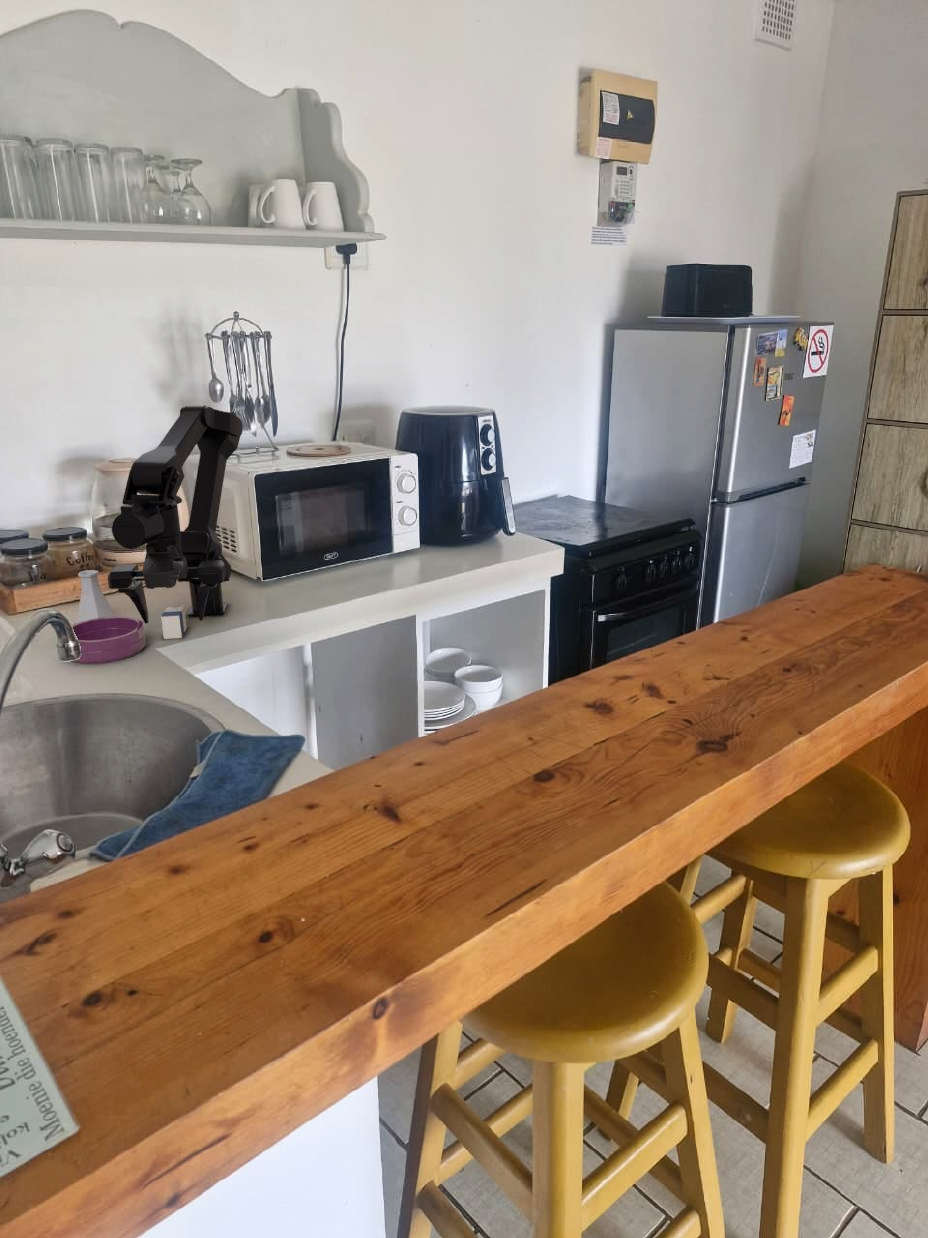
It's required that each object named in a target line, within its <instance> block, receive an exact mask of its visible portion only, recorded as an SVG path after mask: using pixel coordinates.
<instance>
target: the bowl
mask: <svg viewBox="0 0 928 1238" xmlns="http://www.w3.org/2000/svg"><path fill="white" fill-rule="evenodd" d="M72 626H73V629H74V632H75V634H76V636H77V638H78V641H79V643H80V646H81V654H82V655H81V657H80V659H78V660H75V661H73V662H74V663H78V664H84V665H86V664H87V665H99V664H107V663H114V662H119V661H122V660H125V659H128V658H131V657H133V656H135V655H137V654H139V653H140V652H141V651H142V650H143V648H144V647H146V645H147V639H146V632H145V631H146V630H145V622H144V621H143V620H141V619H140V618H136V617H132V616H121V615H116V616H114V617H102V618H96V619H90V620H86V621H82V622H79V623H76V624H75V623H73V624H72Z"/></svg>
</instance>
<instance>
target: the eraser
mask: <svg viewBox="0 0 928 1238" xmlns="http://www.w3.org/2000/svg"><path fill="white" fill-rule="evenodd" d="M160 619H161V628H162V635H163V639H164V640H171V639H173V640H174V639H182V638H183V637H184V635H185V633H186V630H187V629H188V628H187V627H188V626H187V619H186V611H185V606H170V607H166V608H165V610H164V611H163V613H162V614H161V615H160Z"/></svg>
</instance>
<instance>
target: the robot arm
mask: <svg viewBox="0 0 928 1238" xmlns="http://www.w3.org/2000/svg"><path fill="white" fill-rule="evenodd" d="M243 429H244V428H243V421H242V418H240V417H238V415H237V414H236V413H235V412H234V411H223V410H220V409H214V408H213V407H212V406H208V405H206V404H202V405H201V404H187V405H185V406H182V407H181V408H180V410H179V415H178V417H177V419H176V420H175V421H174V423H173V424H172V426H171V427H170V429H169V430H168V431H167V432H166V434H165V436H164V437H163V438H162V440H161V442H160V443H159V444H158V445H157V446H156V447H155V448H154V449H152V450H149V451H147V452H145V453H142V454H141V455H140V456H139V457H138V458H137V459H135V461H134V462H133V463H132V465H131V467H130V470H129V472H128V477H127V480H126V481H127V482H126V484H125V489H124V493H123V498H122V502H121V503H122V505H120V507H119V508H120V514H119V515H117V516H116V517H115V518H114V520H113V521H112V525H111V533H112V536H113V539H114V540H115V542H116V543H117V544H118V545H120V546H121V547H123V548H125V549H128V550H134V549H137V548H140V547H142V546H145V552H146V553H145V557H144V562H143V566H142V569H140V568H139V566H138V563H132V564H130V563H129V564H116V565H115V566H114V567H113V568H112V570H111V571H110V572H109V573H108V574H107V584H108V585H107V586H108V589H110V590H117V592H118V593H119V594H125V595H126V596H127V597H129V599H130V600H131V602H132V603H133V605H135V607H136V610H137V612H138V613H139V615H140V617H141V619H142V621H143V623H144V625H145V624H147V625H148V623H149V610H148V605H147V599H146V595H145V588H146V589H149V590H155V588H159V589H160V588H166V589H171V588H173V587H175V586H176V585H177V582H178V583H183V582H185V583H186V582H187V583H188V587H189V593H190V603H191V607H190V608H189V611H188V612H187V616H188V617H198V619H199V621H201V622H202V621H203V619H204V617H205V616H206V617H207V616H219V615H220V616H221V615H224V614H225V613H226V610H227V607H228V602H227V601H224V600H223V589H222V584H223V583H224V582H229V581H230V578H231V575H232V566H231V564H230V563H229V561H228V560H227V559H226V557H225V556H224V555H223V545H222V543H221V541H220V539H219V536H218V534H217V525H218V518H219V512H220V505H221V499H222V493H223V486H224V480H225V473H226V468H227V467H226V466H227V462H228V459H229V458H230V457H231V456H232V455H233V454H234V453H235V451H236V450H238V447H239V443H240V439H241V436H242V434H243ZM196 446H197V449H198V450H199V452H200V453H199V460H198V466H197V471H196V477H195V483H194V490H193V495H192V501H191V508H190V514H189V520H188V524H187V527H186V528H185V529H184V530H181V524H180V517H179V509H178V504H181V503H182V502H183V499H182V497H180V496H179V495H178V493H179V490H180V489H181V486H182V483H183V482H184V478H185V473H184V469H183V467H184V465H185V462H186V461H187V460H188V458H189V457H190V455H191V453H192V452H193V450H194V449H195V447H196ZM143 581H144V583H143ZM144 584H145V587H144Z"/></svg>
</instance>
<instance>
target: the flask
mask: <svg viewBox="0 0 928 1238" xmlns="http://www.w3.org/2000/svg"><path fill="white" fill-rule="evenodd" d="M77 575H78V578H79V579H80V583H81V589H80V591H81V593H80V599H79V602H78V603H79V604H78V608H77V613H76V617H75V620H74V624H76V623H79V622H82V621H86V620H90V619H96V618H102V617H114V616H117V615H116V613H115V612H114V610H113V608H112V607H111V605H110V603H109V602H108V599H107V598H106V596H105V595H104V593H103V591H102V588H101V586H100V582H99V579H98V575H99V570H95V569H86V570H82V571H79V572H78V574H77Z"/></svg>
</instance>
